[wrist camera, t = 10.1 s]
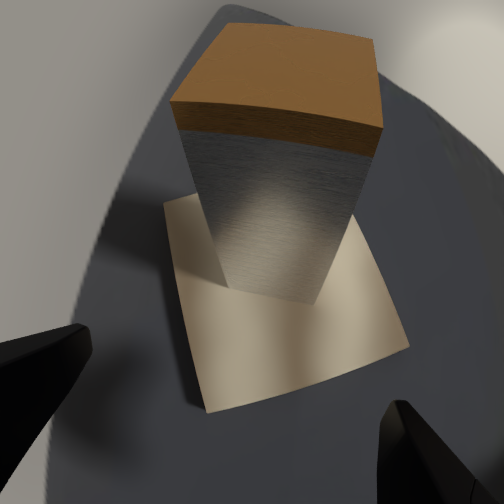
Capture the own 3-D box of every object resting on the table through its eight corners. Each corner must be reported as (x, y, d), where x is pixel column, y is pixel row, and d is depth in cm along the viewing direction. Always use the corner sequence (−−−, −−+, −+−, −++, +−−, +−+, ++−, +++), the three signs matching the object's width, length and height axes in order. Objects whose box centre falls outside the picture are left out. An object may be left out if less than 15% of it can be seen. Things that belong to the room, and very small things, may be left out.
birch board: (211, 412, 17) (207, 413, 15) (168, 214, 23) (163, 203, 22) (400, 350, 18) (409, 346, 16) (323, 175, 24) (325, 162, 22)
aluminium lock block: (313, 305, 18) (383, 128, 6) (228, 288, 19) (169, 101, 7) (325, 230, 20) (372, 39, 8) (248, 216, 21) (228, 23, 9)
